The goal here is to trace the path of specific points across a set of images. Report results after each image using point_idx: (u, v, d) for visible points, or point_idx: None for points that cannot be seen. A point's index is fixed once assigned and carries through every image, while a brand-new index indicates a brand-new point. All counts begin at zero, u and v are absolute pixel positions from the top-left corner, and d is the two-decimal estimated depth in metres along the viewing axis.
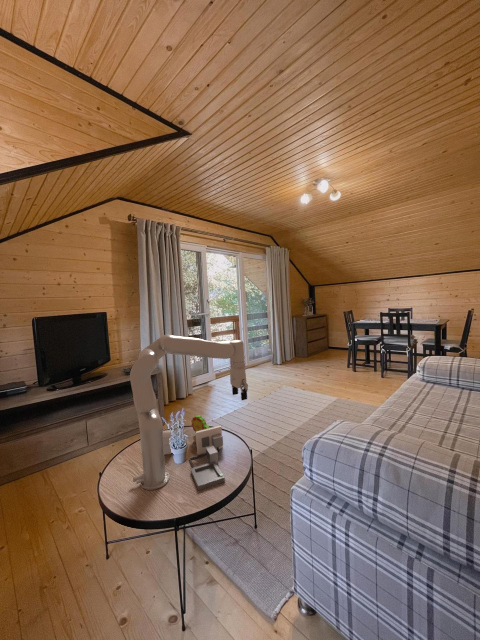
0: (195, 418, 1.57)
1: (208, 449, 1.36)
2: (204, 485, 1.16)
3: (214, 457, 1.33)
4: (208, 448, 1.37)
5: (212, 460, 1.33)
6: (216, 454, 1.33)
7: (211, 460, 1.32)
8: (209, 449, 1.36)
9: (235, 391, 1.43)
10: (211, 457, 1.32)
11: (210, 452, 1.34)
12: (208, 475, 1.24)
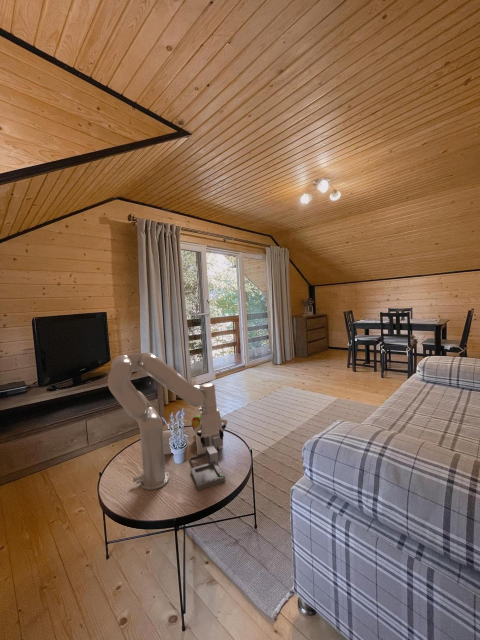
0: (195, 418, 1.57)
1: (208, 449, 1.36)
2: (204, 485, 1.16)
3: (214, 457, 1.33)
4: (208, 448, 1.37)
5: (212, 460, 1.33)
6: (216, 454, 1.33)
7: (211, 460, 1.32)
8: (209, 449, 1.36)
9: None
10: (211, 457, 1.32)
11: (210, 452, 1.34)
12: (208, 475, 1.24)
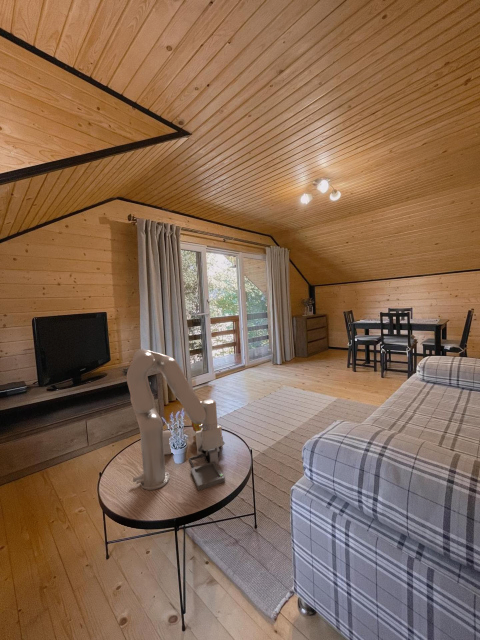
0: None
1: None
2: (204, 485, 1.16)
3: (215, 457, 1.33)
4: None
5: (212, 460, 1.33)
6: (216, 454, 1.33)
7: (211, 460, 1.32)
8: None
9: None
10: (212, 456, 1.32)
11: (210, 452, 1.34)
12: (208, 475, 1.24)
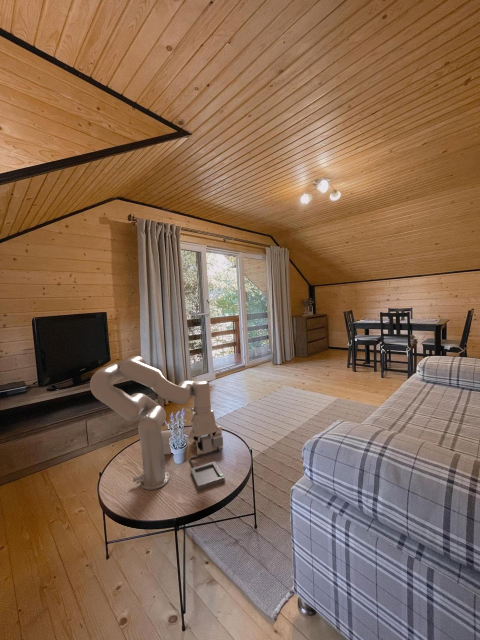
0: None
1: None
2: (204, 485, 1.16)
3: (208, 444, 1.20)
4: None
5: (205, 447, 1.19)
6: (210, 440, 1.20)
7: (204, 447, 1.19)
8: None
9: None
10: (204, 443, 1.19)
11: (203, 438, 1.20)
12: (208, 475, 1.24)
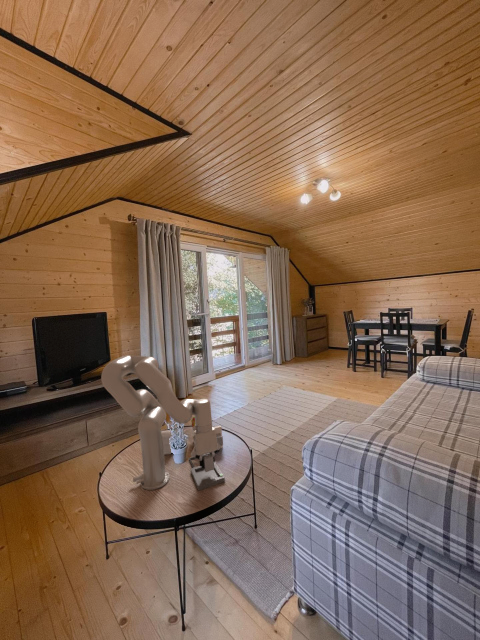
0: None
1: None
2: (204, 485, 1.16)
3: (210, 462, 1.20)
4: None
5: (207, 465, 1.20)
6: (211, 459, 1.21)
7: (206, 465, 1.20)
8: None
9: None
10: (206, 462, 1.20)
11: (205, 457, 1.21)
12: (208, 475, 1.24)
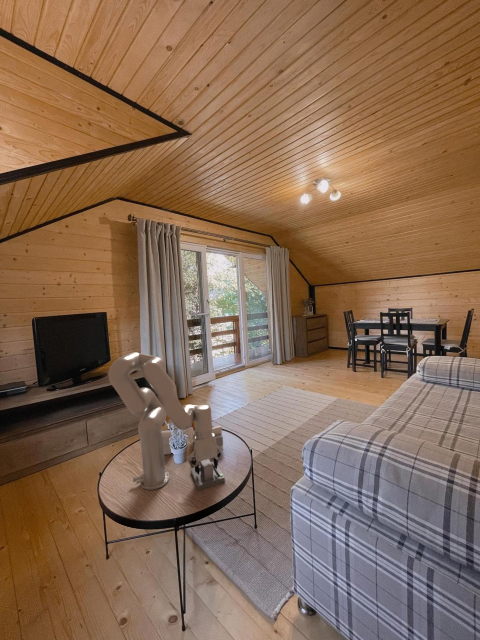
0: None
1: (202, 462, 1.24)
2: (204, 485, 1.16)
3: (209, 471, 1.20)
4: (202, 461, 1.25)
5: (207, 474, 1.20)
6: (211, 468, 1.21)
7: (205, 474, 1.20)
8: (203, 462, 1.24)
9: None
10: (206, 471, 1.20)
11: (204, 466, 1.21)
12: None
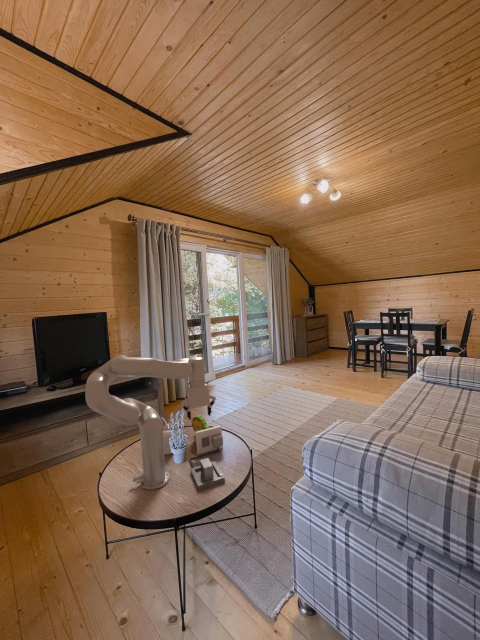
0: (195, 418, 1.57)
1: (202, 462, 1.24)
2: (204, 485, 1.16)
3: (209, 471, 1.20)
4: (202, 461, 1.25)
5: (207, 474, 1.20)
6: (211, 468, 1.21)
7: (205, 474, 1.20)
8: (203, 462, 1.24)
9: None
10: (206, 471, 1.20)
11: (204, 466, 1.21)
12: None
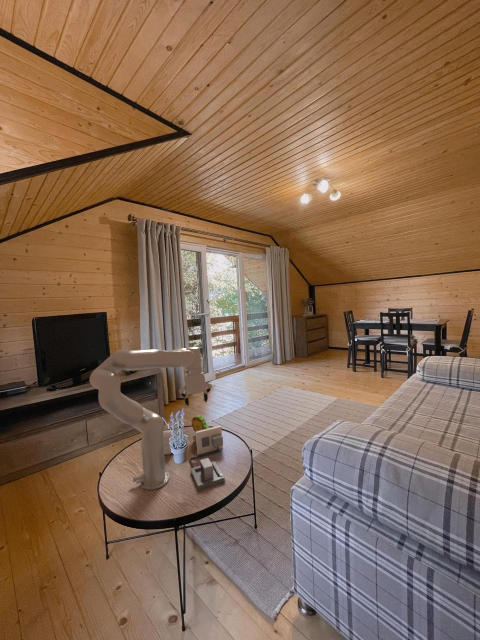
0: (195, 418, 1.57)
1: (202, 462, 1.24)
2: (204, 485, 1.16)
3: (209, 471, 1.20)
4: (202, 461, 1.25)
5: (207, 474, 1.20)
6: (211, 468, 1.21)
7: (205, 474, 1.20)
8: (203, 462, 1.24)
9: None
10: (206, 471, 1.20)
11: (204, 466, 1.21)
12: None
